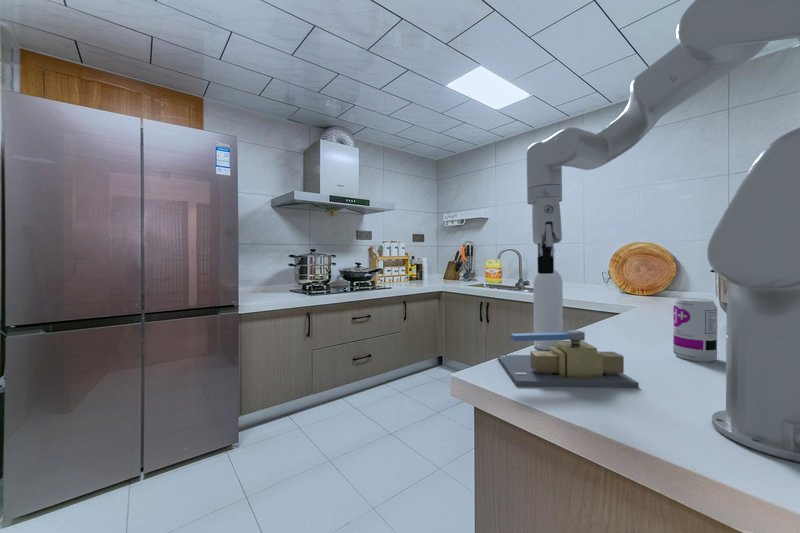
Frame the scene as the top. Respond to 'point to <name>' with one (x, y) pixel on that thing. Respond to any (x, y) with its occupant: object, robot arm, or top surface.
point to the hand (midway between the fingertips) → (545, 273)
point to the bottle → (548, 306)
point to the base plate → (556, 376)
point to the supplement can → (695, 329)
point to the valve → (576, 361)
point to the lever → (549, 336)
